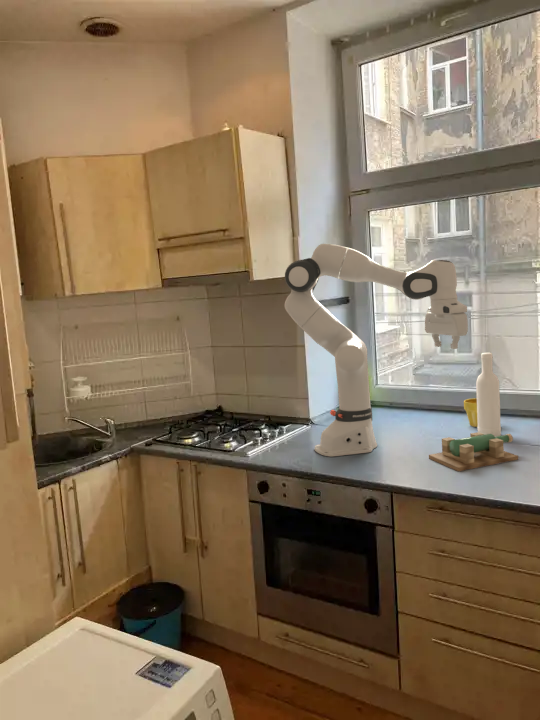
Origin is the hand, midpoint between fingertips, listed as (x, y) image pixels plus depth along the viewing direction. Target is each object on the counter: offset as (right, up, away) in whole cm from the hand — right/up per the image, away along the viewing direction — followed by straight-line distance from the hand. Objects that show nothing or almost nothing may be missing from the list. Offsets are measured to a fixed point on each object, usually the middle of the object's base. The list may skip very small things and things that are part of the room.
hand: (446, 347), depth 211 cm
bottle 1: (+19, -32, +12) cm, 39 cm away
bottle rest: (+5, -36, -14) cm, 39 cm away
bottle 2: (+8, -33, -13) cm, 36 cm away
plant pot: (+20, -30, +27) cm, 45 cm away
